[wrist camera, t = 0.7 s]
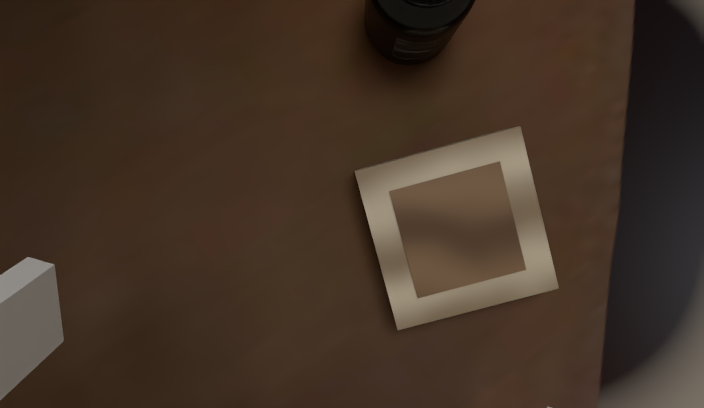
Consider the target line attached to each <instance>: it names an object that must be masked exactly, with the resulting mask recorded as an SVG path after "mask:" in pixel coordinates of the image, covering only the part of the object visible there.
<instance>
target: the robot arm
mask: <svg viewBox="0 0 704 408" xmlns="http://www.w3.org/2000/svg"><path fill="white" fill-rule="evenodd" d="M63 341H64V338H63V330H62V322H61V314H60V306H59V298H58V289H57V281H56V273H55V265H54V264H51V263H47V262H44V261H40V260H37V259H33V258H30V257H27V258H26V259H24V260H23V261H21V262H20V263H18V264H17V265H15V266H13V267H12V268H10V269H9V270H7V271H6V272H4V273H3V274H1V275H0V400H1V399H2V398H3V397H5V396H6V395H7V394H8V393H9V392H10V391H11V390H12V389H13V388H14V387H15V386H16V385H17V384H18V383H19V382H21V381H22V380H23V379H24V378H25V377H26V376H27V375H28V374H29V373H30V372H31V371H32V370H33V369H34V368H35V367H36V366H38V365H39V364H40V363H41V362H42V361H43V360H44V359H45V358H46V357H47V356H48V355H49V354H50V353H51V352H52V351H54V350H55V349H56V348H57V347H58V346H59V345H60V344H61V343H62V342H63ZM547 408H550V407H547Z"/></svg>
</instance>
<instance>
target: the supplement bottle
mask: <svg viewBox="0 0 704 408" xmlns="http://www.w3.org/2000/svg"><path fill="white" fill-rule="evenodd" d="M474 2H475V0H365V26H366V31H367V34H368V37H369V39H370V41H371V43H372V45H373V46H374V48H375V49H376V50H377V51H378V52H379V53H380V54H381V55H382V56H384V57H385V58H387V59H388V60H390V61H393V62H395V63H399V64H405V65H413V64H419V63H422V62H425V61H427V60H429V59H431V58H433V57H434V56H436V55H437V54H438V53H439V52H440V51H441V50H442V49H443V48H444V47H445V46H446V44H447V43H448V42H449V40H450V39H451V37H452V36H453V34H454V33H455V32H456V30H457V29H458V27H459V26H460V24H461V23H462V22H463V20H464V19H465V17H466V16H467V14H468V13H469V11H470V10H471V8H472V6H473V4H474Z"/></svg>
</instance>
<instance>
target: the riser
mask: <svg viewBox="0 0 704 408" xmlns="http://www.w3.org/2000/svg"><path fill="white" fill-rule="evenodd" d="M355 175H356V179H357V182H358V186H359V190H360V193H361V197H362V201H363V204H364V208H365V212H366V215H367V219H368V223H369V226H370V230H371V234H372V237H373V241H374V245H375V248H376V252H377V256H378V259H379V263H380V267H381V270H382V274H383V278H384V282H385V285H386V289H387V293H388V296H389V300H390V304H391V307H392V311H393V315H394V318H395V322H396V326H397V329H398V330H401V329H405V328H409V327H412V326H416V325H420V324H424V323H428V322H432V321H435V320H439V319H443V318H447V317H451V316H455V315H458V314H462V313H466V312H470V311H474V310H478V309H481V308H485V307H489V306H493V305H497V304H501V303H504V302H508V301H512V300H516V299H520V298H524V297H527V296H531V295H535V294H539V293H543V292H547V291H550V290H554V289H558V288H559V287H558V283H557V279H556V274H555V270H554V266H553V262H552V258H551V253H550V249H549V245H548V241H547V236H546V232H545V228H544V224H543V220H542V215H541V211H540V207H539V203H538V199H537V194H536V190H535V186H534V182H533V178H532V173H531V169H530V165H529V161H528V157H527V152H526V148H525V144H524V140H523V135H522V131H521V127H520V126H518V127H514V128H509V129H504V130H500V131H496V132H493V133H489V134H486V135H482V136H478V137H475V138H471V139H467V140H464V141H460V142H456V143H453V144H449V145H445V146H442V147H438V148H434V149H431V150H427V151H424V152H420V153H416V154H413V155H409V156H405V157H402V158H398V159H394V160H391V161H387V162H383V163H380V164H376V165H372V166H369V167H365V168H361V169H358V170H355Z"/></svg>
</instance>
